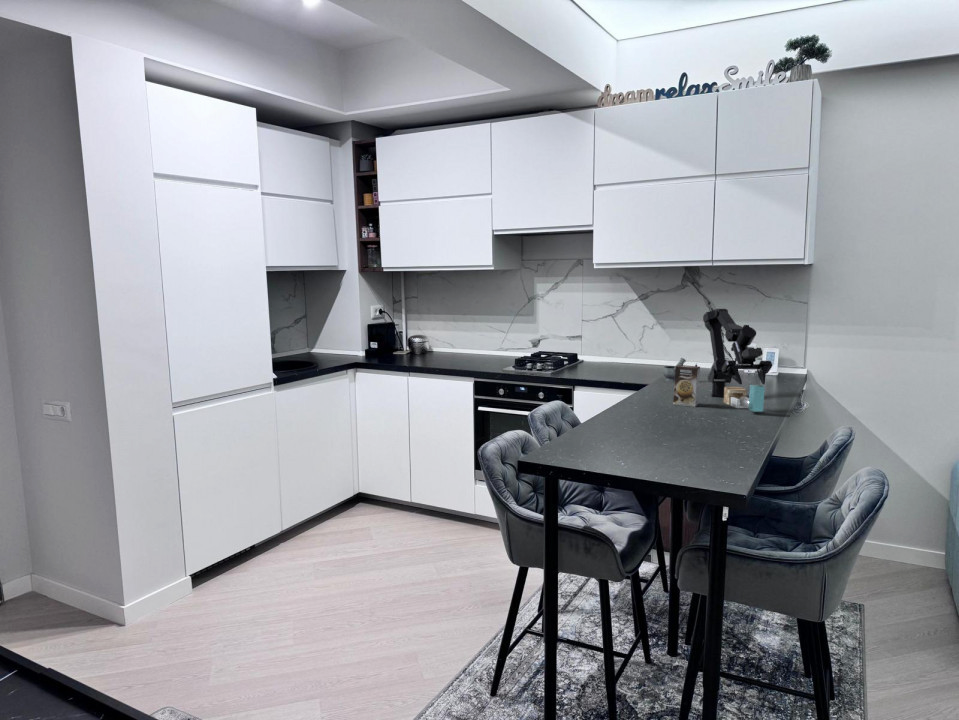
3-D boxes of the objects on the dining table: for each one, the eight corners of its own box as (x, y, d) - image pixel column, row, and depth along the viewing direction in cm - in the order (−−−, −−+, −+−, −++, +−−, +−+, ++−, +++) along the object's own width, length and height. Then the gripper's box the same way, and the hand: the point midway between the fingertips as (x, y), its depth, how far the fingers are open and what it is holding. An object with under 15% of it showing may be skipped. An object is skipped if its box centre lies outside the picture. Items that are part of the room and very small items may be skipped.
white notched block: (730, 405, 276) (731, 397, 275) (745, 405, 276) (746, 397, 276) (736, 408, 270) (737, 399, 269) (752, 408, 270) (752, 400, 270)
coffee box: (672, 404, 276) (674, 366, 273) (675, 402, 281) (677, 364, 279) (695, 407, 271) (697, 367, 269) (698, 404, 277) (700, 365, 275)
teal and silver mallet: (737, 404, 272) (739, 380, 270) (747, 404, 272) (748, 380, 271) (752, 411, 258) (754, 386, 257) (763, 411, 258) (764, 386, 257)
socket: (723, 402, 282) (724, 386, 281) (740, 402, 282) (741, 386, 281) (728, 404, 277) (729, 389, 276) (745, 404, 277) (746, 389, 276)
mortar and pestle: (659, 381, 333) (661, 357, 331) (664, 378, 341) (665, 355, 340) (682, 383, 328) (684, 359, 326) (686, 380, 336) (687, 357, 334)
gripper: (726, 340, 265) (736, 371, 256) (772, 340, 266) (783, 372, 257) (717, 357, 274) (726, 388, 265) (761, 357, 275) (772, 388, 266)
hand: (752, 384), depth 263 cm, fingers open, 9 cm apart
